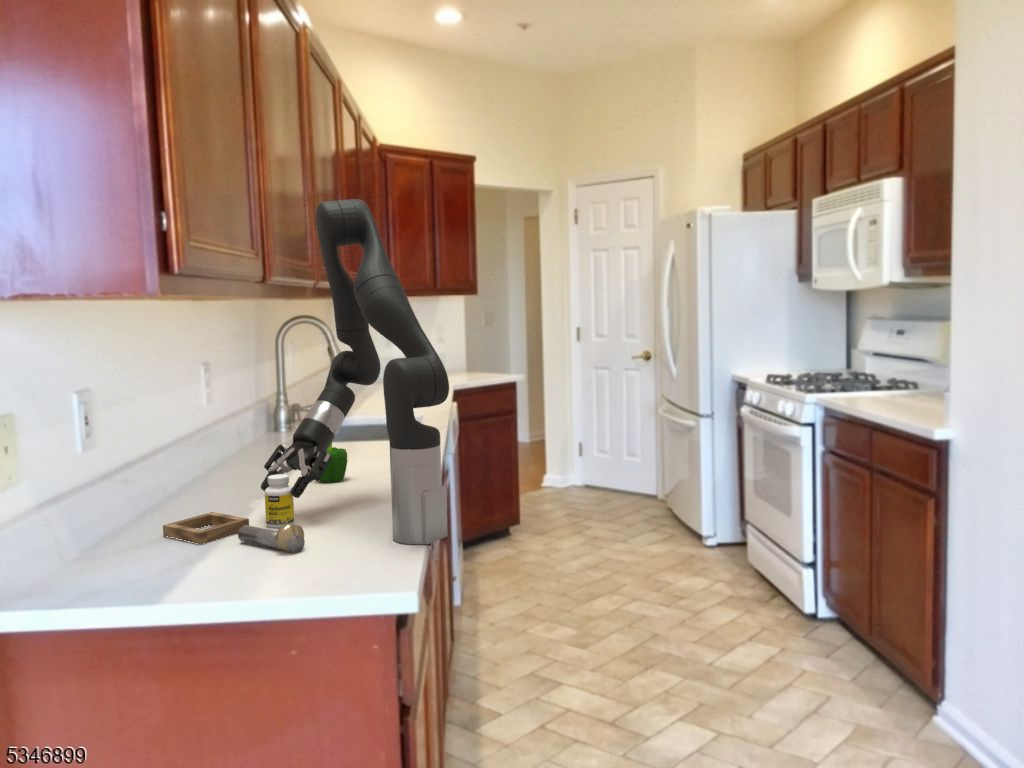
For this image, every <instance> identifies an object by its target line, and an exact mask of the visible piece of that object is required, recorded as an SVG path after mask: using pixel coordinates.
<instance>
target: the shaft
mask: <svg viewBox="0 0 1024 768" xmlns="http://www.w3.org/2000/svg"><path fill="white" fill-rule="evenodd" d="M237 537H238V539H239V541H240V542H243V543H249V544H253V545H257V546H262V547H267V548H271V549H272V548H273V549H276V550H280V551H284V552H289V553H295V554H299V553H300V552H302V551H303V549H304V548H305V541H306V539H305V531H304V529H303V527H302V526H301V525H299V524H296V523H293V524H291V523H285V524H283V525H282V526H281V527H280V528H278V529H277V530H273V529H268V528H263V527H258V526H254V525H253V526H252V525H249V526H248V525H244V526H242V527H241V528H240V530H239V532H238V534H237ZM298 552H299V553H298Z"/></svg>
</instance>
